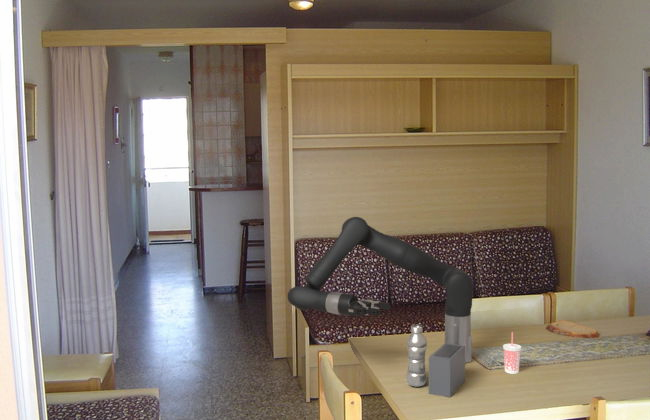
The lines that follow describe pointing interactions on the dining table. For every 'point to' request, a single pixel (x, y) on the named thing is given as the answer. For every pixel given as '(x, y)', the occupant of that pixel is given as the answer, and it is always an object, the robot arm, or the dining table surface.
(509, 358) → the beverage cup
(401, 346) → the dining table surface
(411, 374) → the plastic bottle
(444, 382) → the box
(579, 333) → the slice of bread
